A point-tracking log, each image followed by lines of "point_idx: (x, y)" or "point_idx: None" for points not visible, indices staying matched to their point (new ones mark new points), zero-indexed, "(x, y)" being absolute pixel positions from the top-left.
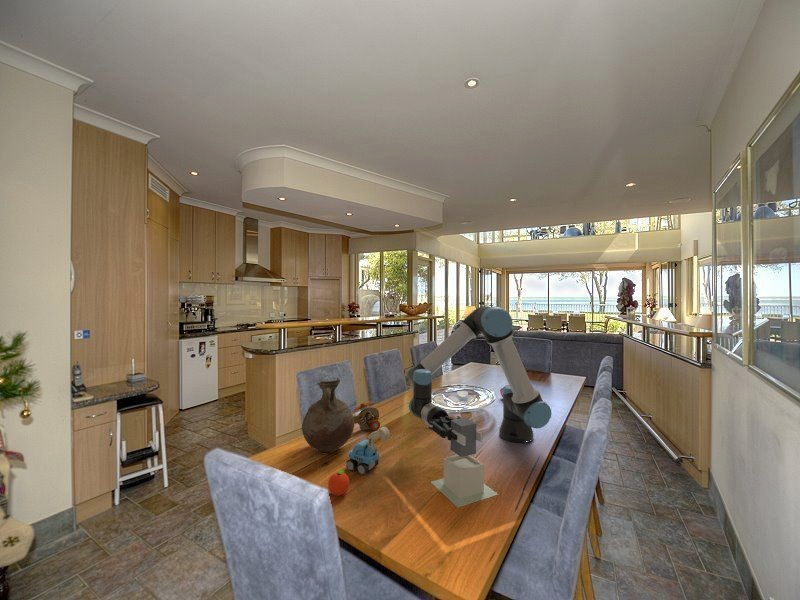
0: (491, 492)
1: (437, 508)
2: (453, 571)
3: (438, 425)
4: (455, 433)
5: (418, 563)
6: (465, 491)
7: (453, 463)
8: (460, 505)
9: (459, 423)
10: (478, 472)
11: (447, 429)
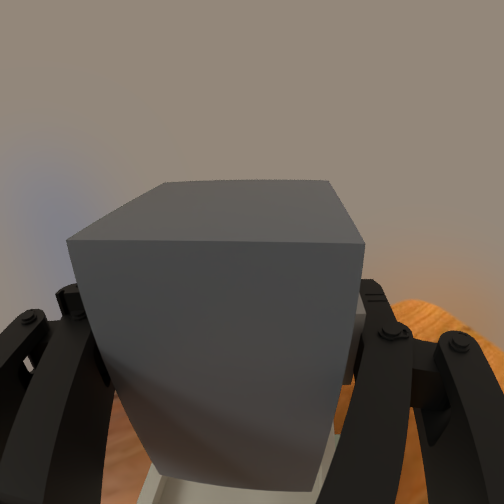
0: None
1: (404, 467)
2: (429, 323)
3: (498, 499)
4: None
5: (479, 344)
6: None
7: (294, 499)
8: (336, 438)
9: (305, 194)
10: None
11: (408, 349)
